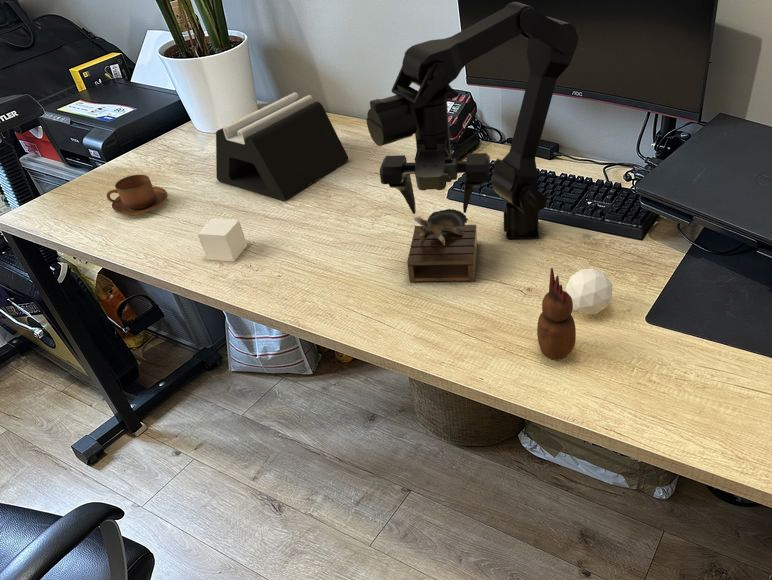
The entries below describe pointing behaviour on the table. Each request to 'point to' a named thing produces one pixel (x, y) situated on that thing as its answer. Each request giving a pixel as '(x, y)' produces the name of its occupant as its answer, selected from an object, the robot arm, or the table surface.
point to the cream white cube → (222, 239)
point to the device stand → (278, 148)
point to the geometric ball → (589, 291)
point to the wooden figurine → (556, 322)
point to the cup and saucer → (136, 195)
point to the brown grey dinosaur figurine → (440, 224)
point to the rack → (444, 256)
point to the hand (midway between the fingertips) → (439, 212)
